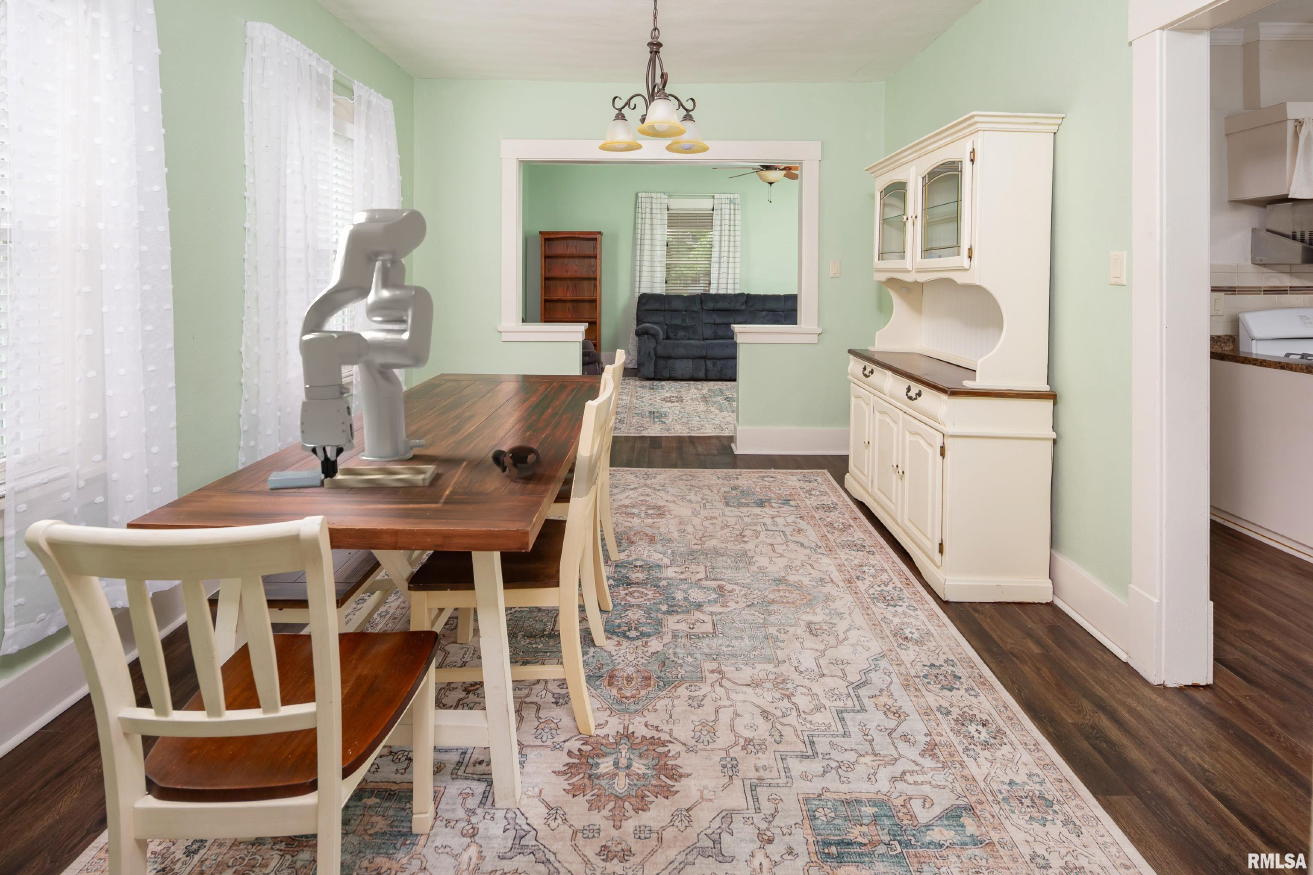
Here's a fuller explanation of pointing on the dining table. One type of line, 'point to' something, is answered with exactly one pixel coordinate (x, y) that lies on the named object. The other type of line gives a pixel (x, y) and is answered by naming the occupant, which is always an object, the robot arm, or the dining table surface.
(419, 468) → the tray
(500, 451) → the pottery mug
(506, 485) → the dining table surface
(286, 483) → the cover plate
